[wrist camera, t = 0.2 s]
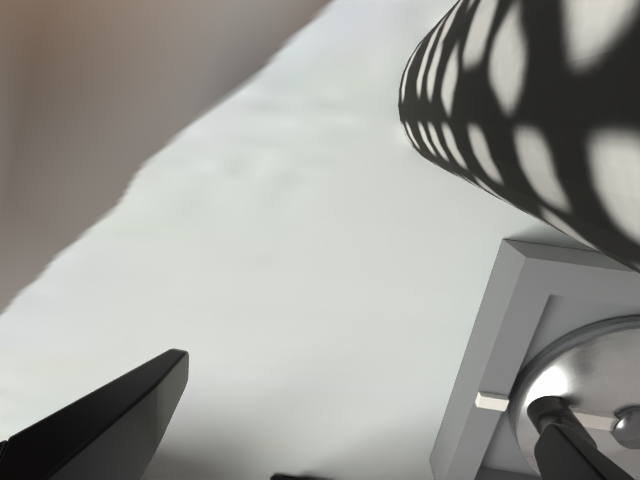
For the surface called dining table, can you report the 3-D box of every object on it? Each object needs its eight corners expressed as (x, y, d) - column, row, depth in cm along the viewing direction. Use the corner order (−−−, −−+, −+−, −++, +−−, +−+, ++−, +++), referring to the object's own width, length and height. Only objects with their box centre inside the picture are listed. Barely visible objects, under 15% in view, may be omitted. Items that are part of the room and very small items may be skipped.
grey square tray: (673, 499, 27) (716, 549, 24) (429, 459, 28) (439, 503, 25) (832, 284, 20) (920, 315, 17) (502, 239, 21) (529, 260, 18)
